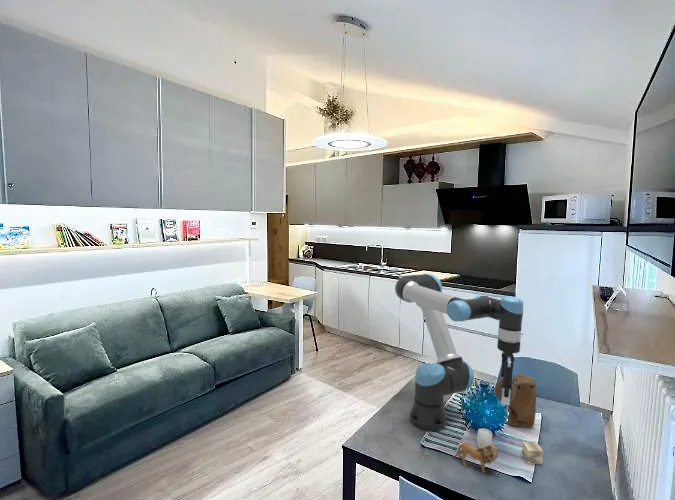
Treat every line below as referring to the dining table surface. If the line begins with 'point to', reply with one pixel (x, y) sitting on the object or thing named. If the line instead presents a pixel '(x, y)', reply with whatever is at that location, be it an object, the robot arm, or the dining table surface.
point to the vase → (499, 390)
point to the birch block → (532, 452)
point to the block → (523, 402)
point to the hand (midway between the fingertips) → (504, 399)
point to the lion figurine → (478, 454)
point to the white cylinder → (484, 438)
